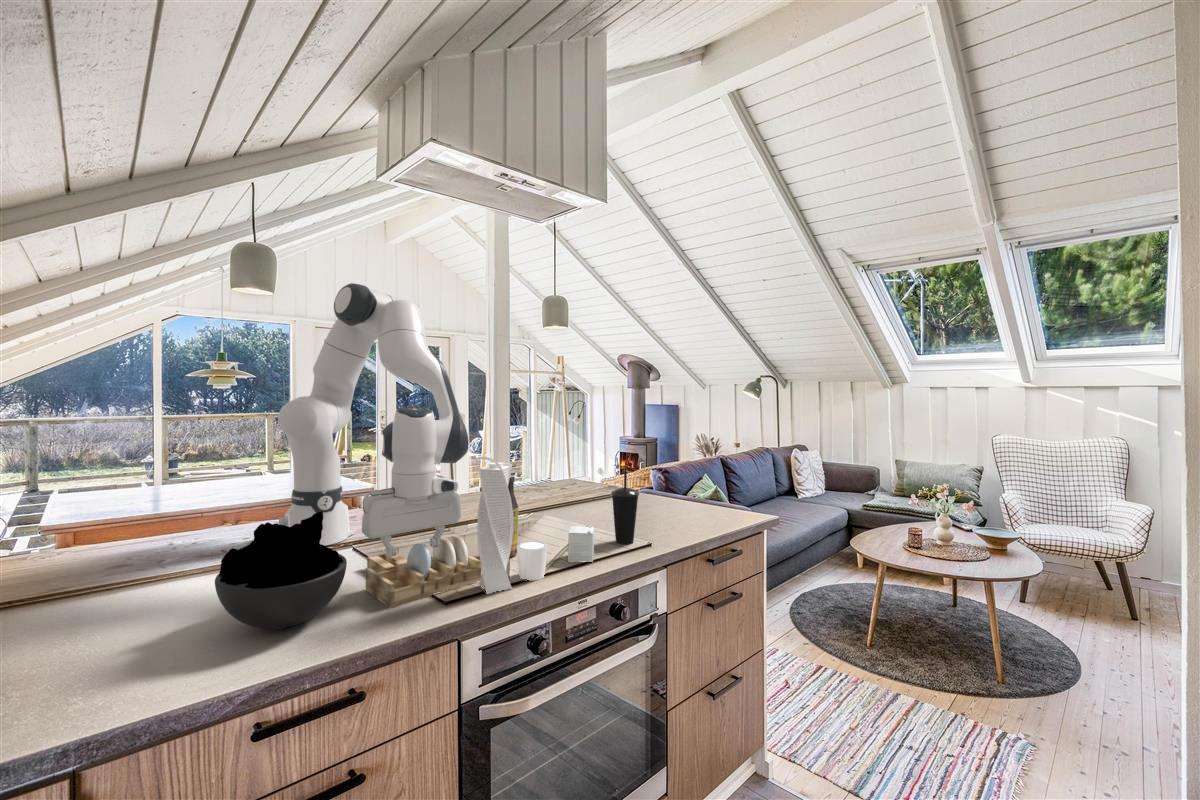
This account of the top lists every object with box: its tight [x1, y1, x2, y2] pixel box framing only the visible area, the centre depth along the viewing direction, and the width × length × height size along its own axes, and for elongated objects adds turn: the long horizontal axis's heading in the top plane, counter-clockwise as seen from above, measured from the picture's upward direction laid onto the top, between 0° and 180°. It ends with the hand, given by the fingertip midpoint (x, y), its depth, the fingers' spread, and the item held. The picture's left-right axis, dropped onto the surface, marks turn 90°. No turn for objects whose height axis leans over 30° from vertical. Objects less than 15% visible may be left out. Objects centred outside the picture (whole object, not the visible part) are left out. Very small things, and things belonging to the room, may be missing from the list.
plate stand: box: [366, 552, 407, 573], centre depth 120 cm, size 11×6×3 cm, turn 45°
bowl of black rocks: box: [214, 511, 348, 630], centre depth 94 cm, size 20×20×19 cm
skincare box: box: [567, 525, 595, 563], centre depth 131 cm, size 6×6×7 cm
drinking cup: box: [610, 468, 640, 545], centre depth 145 cm, size 8×8×20 cm
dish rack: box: [365, 535, 482, 609], centre depth 113 cm, size 12×20×9 cm, turn 135°
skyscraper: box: [475, 456, 514, 595], centre depth 111 cm, size 8×8×28 cm
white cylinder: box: [516, 540, 548, 582], centre depth 119 cm, size 7×7×7 cm
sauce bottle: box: [508, 474, 519, 558], centre depth 133 cm, size 7×6×20 cm
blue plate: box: [406, 543, 432, 581], centre depth 112 cm, size 8×1×8 cm, turn 43°
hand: (413, 550), depth 111 cm, fingers open, 8 cm apart
